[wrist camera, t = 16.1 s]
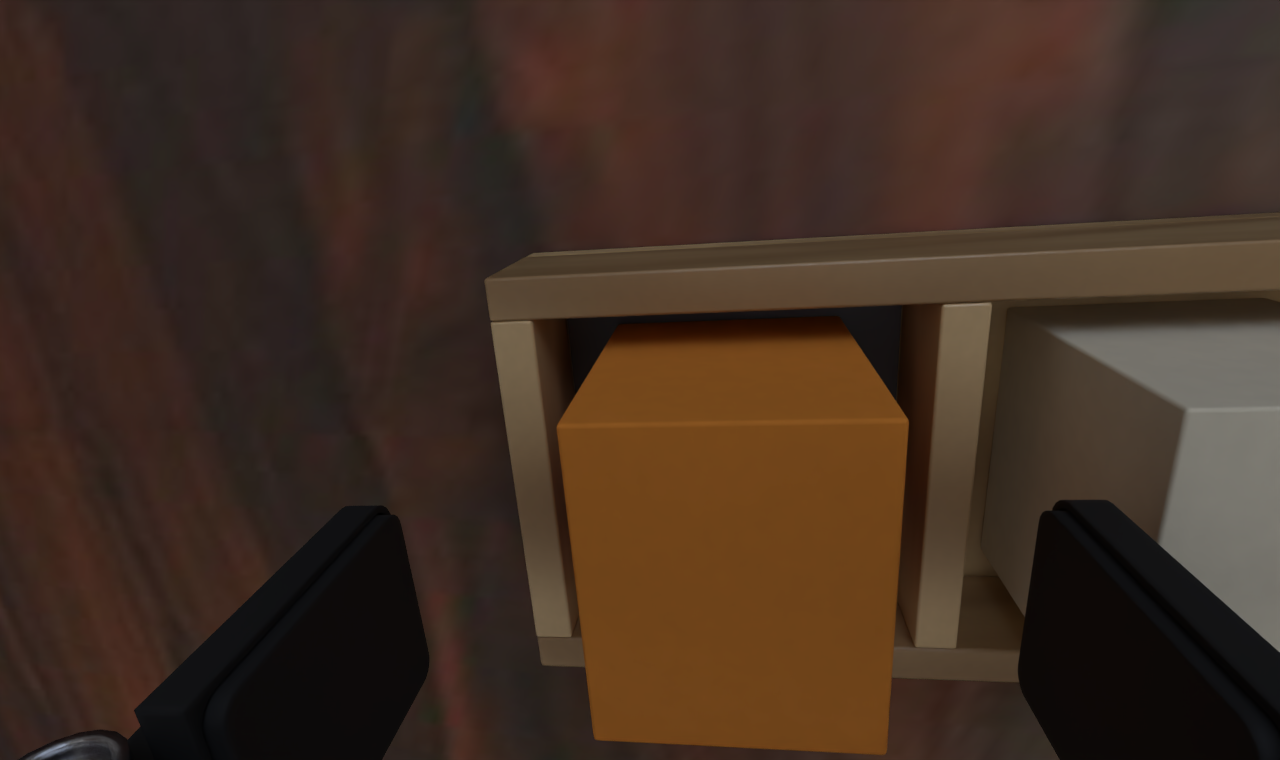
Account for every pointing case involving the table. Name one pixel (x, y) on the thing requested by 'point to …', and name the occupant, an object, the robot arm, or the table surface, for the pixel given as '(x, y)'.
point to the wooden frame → (896, 348)
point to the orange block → (736, 535)
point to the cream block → (1146, 437)
